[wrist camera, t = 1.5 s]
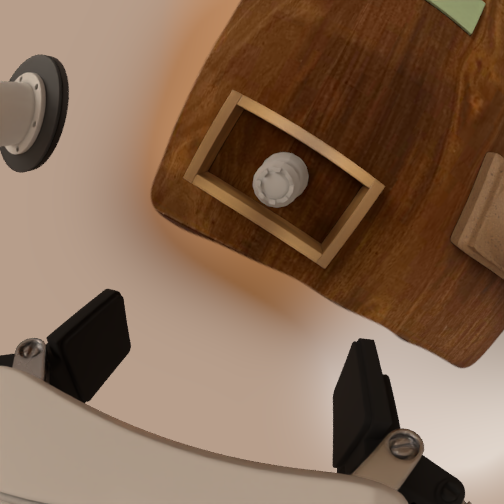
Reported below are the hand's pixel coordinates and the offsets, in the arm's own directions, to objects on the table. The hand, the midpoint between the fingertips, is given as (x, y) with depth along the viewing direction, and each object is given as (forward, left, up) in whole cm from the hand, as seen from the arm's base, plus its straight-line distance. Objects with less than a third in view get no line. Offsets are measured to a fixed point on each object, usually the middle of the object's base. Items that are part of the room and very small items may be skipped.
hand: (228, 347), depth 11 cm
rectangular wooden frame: (-2, +4, -19) cm, 19 cm away
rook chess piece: (-2, +4, -19) cm, 19 cm away
